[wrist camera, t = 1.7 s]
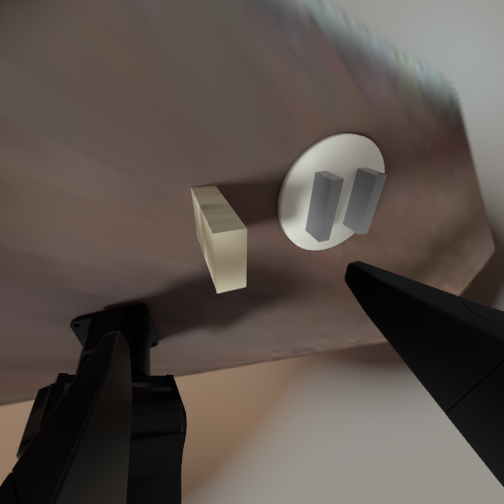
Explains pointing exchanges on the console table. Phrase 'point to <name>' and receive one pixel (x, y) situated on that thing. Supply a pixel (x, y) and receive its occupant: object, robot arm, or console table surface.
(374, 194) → the dish
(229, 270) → the block
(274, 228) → the console table surface
